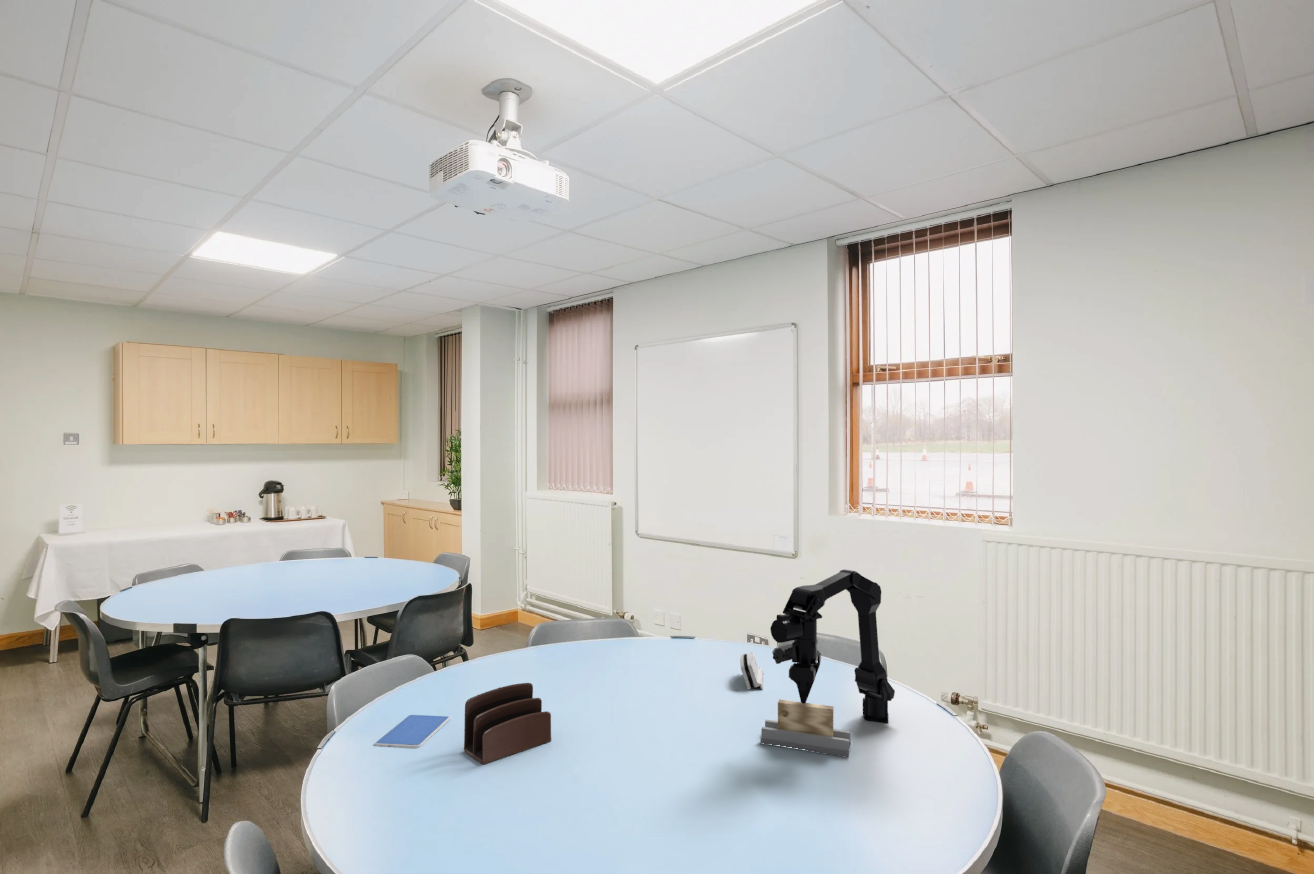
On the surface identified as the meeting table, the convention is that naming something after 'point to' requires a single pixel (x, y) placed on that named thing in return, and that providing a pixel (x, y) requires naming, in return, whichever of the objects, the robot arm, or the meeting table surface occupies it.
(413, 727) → the tablet computer
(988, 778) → the meeting table surface
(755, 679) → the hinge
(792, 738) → the door track
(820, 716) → the door panel
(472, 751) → the letter holder
